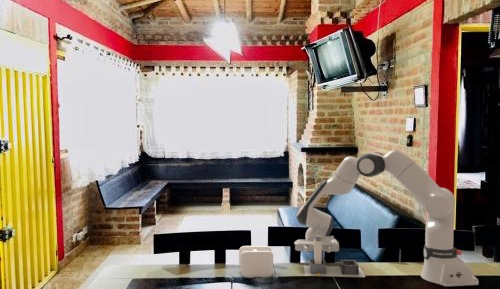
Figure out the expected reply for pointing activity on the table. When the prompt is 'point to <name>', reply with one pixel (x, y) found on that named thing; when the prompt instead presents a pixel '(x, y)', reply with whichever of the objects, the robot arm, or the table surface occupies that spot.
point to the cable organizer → (256, 261)
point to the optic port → (317, 267)
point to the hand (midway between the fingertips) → (317, 250)
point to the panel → (340, 270)
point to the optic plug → (317, 250)
